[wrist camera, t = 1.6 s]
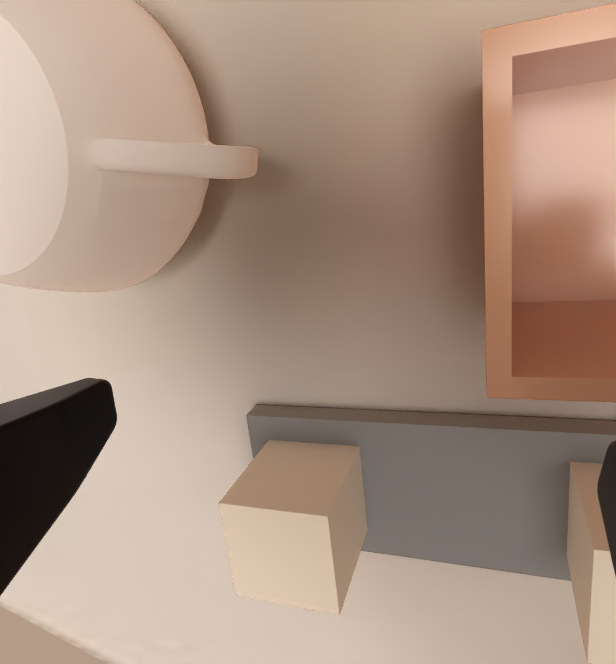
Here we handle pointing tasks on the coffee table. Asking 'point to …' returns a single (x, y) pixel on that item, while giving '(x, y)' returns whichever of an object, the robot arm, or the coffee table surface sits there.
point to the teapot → (98, 146)
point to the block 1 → (296, 524)
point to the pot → (550, 207)
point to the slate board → (455, 480)
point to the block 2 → (591, 565)
